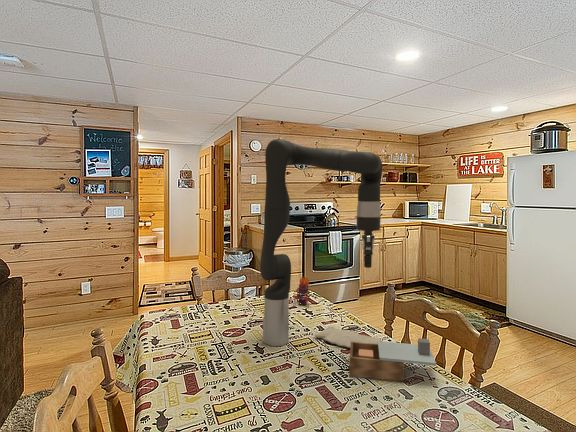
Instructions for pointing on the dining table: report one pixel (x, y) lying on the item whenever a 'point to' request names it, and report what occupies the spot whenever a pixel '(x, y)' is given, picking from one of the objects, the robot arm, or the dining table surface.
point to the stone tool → (344, 337)
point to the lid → (407, 352)
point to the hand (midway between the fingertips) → (367, 264)
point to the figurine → (302, 292)
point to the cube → (365, 353)
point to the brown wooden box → (373, 365)
